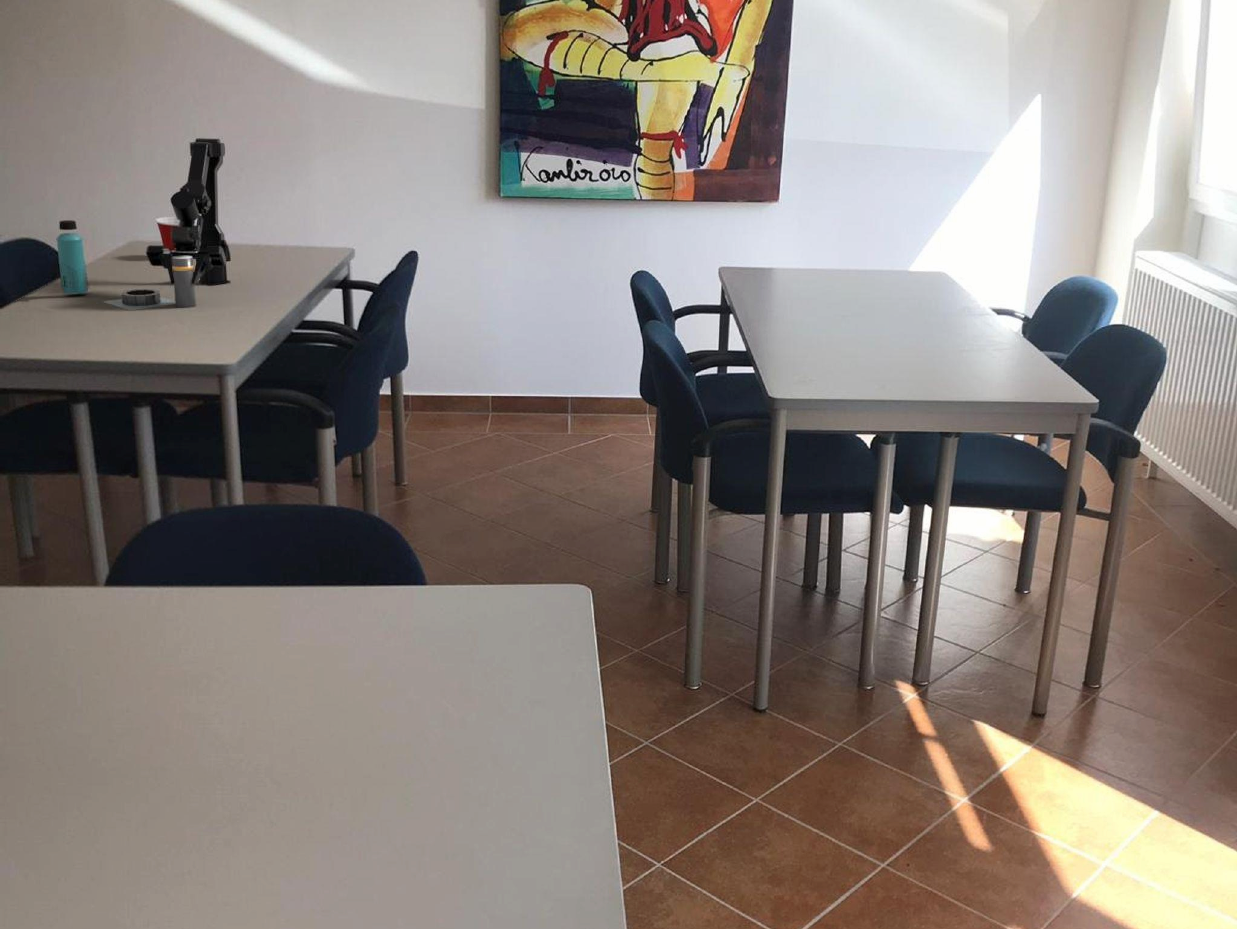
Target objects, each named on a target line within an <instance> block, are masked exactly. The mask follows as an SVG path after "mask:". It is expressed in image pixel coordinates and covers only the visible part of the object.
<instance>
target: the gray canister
mask: <svg viewBox="0 0 1237 929" xmlns="http://www.w3.org/2000/svg"><path fill="white" fill-rule="evenodd" d="M172 269H173V279H174V284H173V289H174V301H175V304H174V305H175V308H178V309H179V308H180V309H189V308H194V307H197V298H196V287H195V285H196V284H195V285H193V275H194V270H195V265H194V260H193V257H192V256H185V255H182V256H173V257H172Z"/></svg>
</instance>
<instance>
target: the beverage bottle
mask: <svg viewBox="0 0 1237 929" xmlns="http://www.w3.org/2000/svg"><path fill="white" fill-rule="evenodd" d="M58 228H59V230H62V231H73V230H77V228H78V227H77V223H76V221H75V220H72V219H71V220H70V219H69V220H68V219H66V220H60V221H59V226H58ZM56 243H57V244H56V245H57V252H58V257H57V259H58V263H59V273H60V275H59V277H60V279H59V280H60V286H61V290H62V292H63V293H64V294H66V295H78V294H86V293H88V290H89V282H88V276H87V275H88V274H87V268H86V267H87V266H86V260H85V254H84V251H85V250H84V243H83V237H82V236H81V234H79V233H75V232H66V233H65V232H64V233H63V232H62V233H60V234H59V235H58V236H57V237H56Z"/></svg>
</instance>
